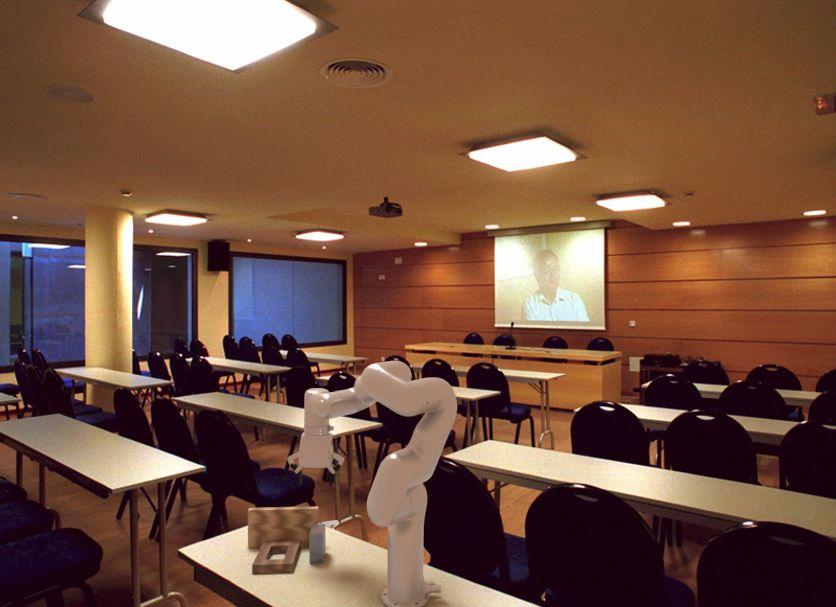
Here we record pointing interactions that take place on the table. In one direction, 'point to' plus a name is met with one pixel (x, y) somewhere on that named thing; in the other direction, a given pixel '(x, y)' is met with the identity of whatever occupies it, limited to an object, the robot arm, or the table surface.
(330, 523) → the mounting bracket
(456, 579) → the table surface
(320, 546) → the tall grey rectangular prism
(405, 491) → the robot arm
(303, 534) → the wooden backboard stand
